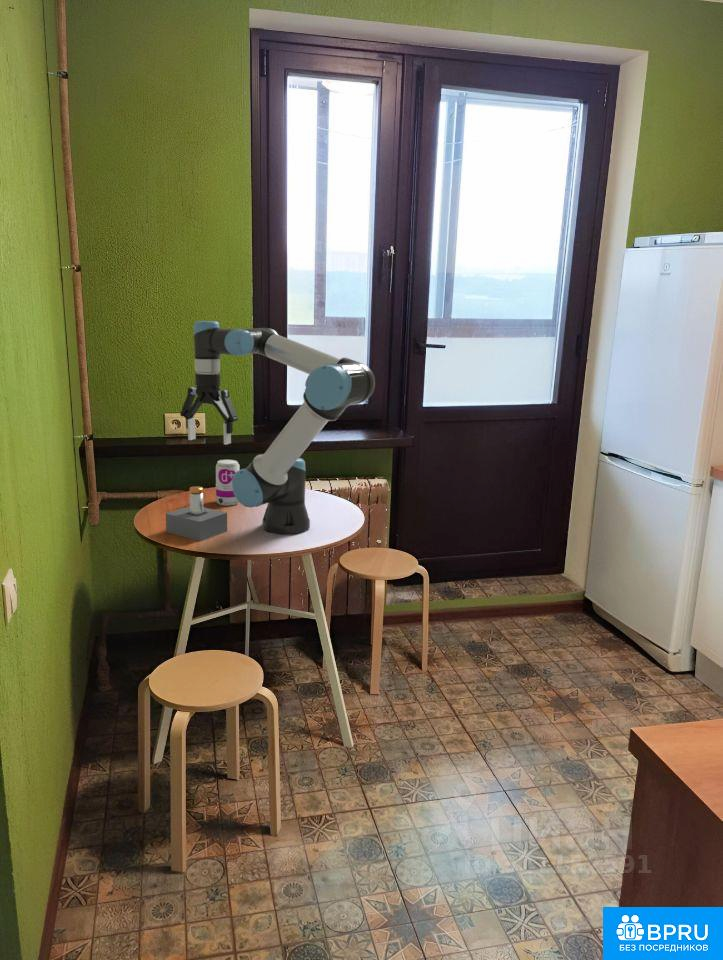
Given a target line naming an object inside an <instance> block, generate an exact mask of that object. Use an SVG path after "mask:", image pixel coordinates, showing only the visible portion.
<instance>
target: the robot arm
mask: <svg viewBox="0 0 723 960" xmlns="http://www.w3.org/2000/svg"><path fill="white" fill-rule="evenodd" d="M192 335H193V346H194V371H195V372H196V373H195V375H194V377H195V379H194V382H195V383H194V384H195V386H196V387H195V386H190V387H188V388H187V394H186V398H185V400H184V403H183V405H182V408H181V411H180V413H179V416H180V417H183V418H184V419H185V426H186V427H185V428H186V430H187V438H188V439H187V440H188V441H193V440H197V438H196V437H197V435H196V418H195V415H196V413H197V412H198V410H199V409H200V408H201V406H202V405H203V404H209V405H212V406H214V407H215V409H216V410H217V412H218V413H219V414H220V416H221V417H222V419H223V420H224V422H223V424H222V425H223V428H222V429H223V430H222V431H223V445H229V444H232V433H233V432H234V431H233V428H234V427H233V424H234V422H237V421H239V417H238V415H237V412H236V410H235V408H234V405H233V403H232V400H231V397H230V391H229V390H228V389H224V390H223V389H222V390H221V389H220V386H221V374H220V371H221V355H231V356H236V357H238V356H247V355H253V354H255V355H256V354H258V355H261V356H264V357H266V358H268V359H271V360H273V361H276V362H278V363H280V364H283V365H285V366H289V367H291V368H292V369H296V370H298V371H300V372H303V373H305V374H308V376H307V378H306V381H305V383H304V386H305V389H304V392H303V397H302V399H303V403H302V404H301V405H300V406H299V408H298V410H296V412H295V413H294V414H293V416H292V417H291V418H290V420H289V421H288V422H287V424H285V426H284V427H283V429H282V430H281V431H280V432H279V433H278V435H277V436H276V437H275V439H274V440H273V442H272V443H271V444H270V445H269V447H268V448H267V449H266V451H265V452H264V453H263V454H257V455H256V456H255V457H254V458H253V459H252V461H251V462H250V463H249V465H248V466H246V467H245V468H241V469H239V471H237V472H236V473H235V474H234V476H233V479H232V487H233V493H234V495H235V497H236V499H237V500H238V501H239V502H238V503H240V504H241V505H242V506H243V507H247V508H254V507H260V506H262V505H265V504H267V507H266V509H265V510H264V511H265V512H264V514H263V518H262V523H261V525H262V529H263V530H264V531H266V532H268V533H273V534H274V533H275V534H280V535H292V534H299V533H304V532H306V531H309V529H310V527H311V520H310V517H309V514H308V511H307V507H306V502H305V501H306V472H307V470H306V462H305V460H304V459H303V458H301V456H302V454H303V453H304V451H306V450H307V448H308V447H309V446H310V444H311V443H312V442H313V441H314V439H315V438H316V437H317V436H318V435H319V433H320V432H321V431H322V430H323V428H324V427H325V425H327V423H328V422H333V421H334V422H335V421H336V420H338V419H339V417H340V416H342V414H343V413H344V412H345V410H346V409H347V408H348V407H349V406H353V405H354V406H355V405H360V404H361V403H364V402H366V401H367V400H369V398H370V397H371V396H372V395H373V393H374V390H375V388H376V379H375V375H374V372H373V371H372V370H371V368H369V366H367V365H366V364H364V363H363V362H359V361H357V360H355V359H352V358H349V357H345V356H344V357H341V358H339V357H336V356H333V355H331V354H328V353H325V352H323V351H321V350H318V349H316V348H313V347H310V346H309V345H306V344H303V343H300V342H298V341H295V340H293V339H290V338H288V337H285V336H283V335H280V334H278V332H277V331H276V330H275V329H272V328H269V327H268V328H267V327H258V328H257V327H256V328H221V327H220V323H219V322H218V321H216V320H197V321H194V325H193V334H192ZM196 396H197V397H196ZM194 399H195V400H194Z"/></svg>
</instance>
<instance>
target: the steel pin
mask: <svg viewBox="0 0 723 960" xmlns="http://www.w3.org/2000/svg"><path fill="white" fill-rule="evenodd" d="M189 506H190V515H193V516H200V515H203V514H204V513H203V507H204V487H202V486H198V485H197V486H190V487H189Z"/></svg>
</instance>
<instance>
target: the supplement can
mask: <svg viewBox="0 0 723 960" xmlns="http://www.w3.org/2000/svg"><path fill="white" fill-rule="evenodd" d="M239 470H240V464H239V462H238V460H235V459H220V460H218V461H217V463H216V465H215V502H216V503H217V504H218V505H221V506H229V507H230V506H231V505H232V506H235V505H238V504H239V503H240V502H239V501H238V500H237V499H236V497H235V495H234V493H233V487H232V479H233V476H234V474H235V473H236V472H237V471H239Z"/></svg>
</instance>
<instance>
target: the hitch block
mask: <svg viewBox="0 0 723 960" xmlns="http://www.w3.org/2000/svg"><path fill="white" fill-rule="evenodd" d="M203 513H204V514H203V515H200V516H193V515H190V505H189V506H186V507H181V508H179V509H175V510H172V511H170V512H166V513H165V530H166V531H165V532H166V533H167V532H168V534H171V535H176V536H180V537H182V538H187V539H191V540H195V541H199V542H201V541H206V540H207V539H210V538H212V537H216V536H217V535H220V534H223V533H226V532H228V513H227V512H225V511H221V510H218V509H213V508H207V507H204V506H203Z"/></svg>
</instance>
